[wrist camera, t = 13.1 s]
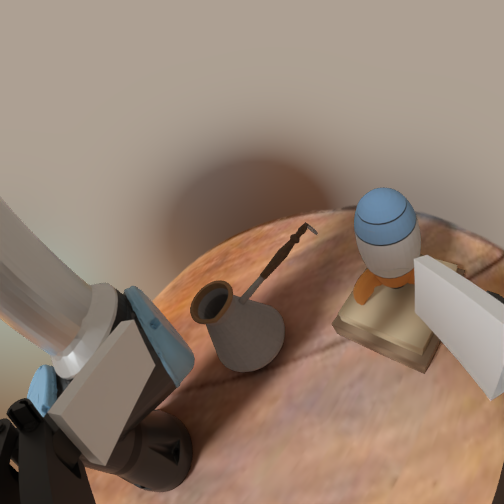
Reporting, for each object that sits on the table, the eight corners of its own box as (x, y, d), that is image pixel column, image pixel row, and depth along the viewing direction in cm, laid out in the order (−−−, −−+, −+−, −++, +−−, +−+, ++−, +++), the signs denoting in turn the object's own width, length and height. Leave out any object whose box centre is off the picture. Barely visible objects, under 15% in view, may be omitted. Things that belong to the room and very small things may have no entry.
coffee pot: (235, 390, 39) (167, 348, 30) (220, 334, 48) (162, 284, 39) (362, 317, 37) (334, 246, 28) (327, 269, 46) (292, 200, 37)
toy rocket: (386, 249, 37) (390, 155, 27) (446, 286, 30) (477, 193, 20) (340, 296, 35) (333, 202, 24) (406, 344, 27) (439, 258, 17)
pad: (337, 333, 37) (327, 316, 34) (382, 259, 41) (377, 237, 38) (424, 373, 27) (426, 360, 24) (463, 283, 31) (466, 260, 28)
